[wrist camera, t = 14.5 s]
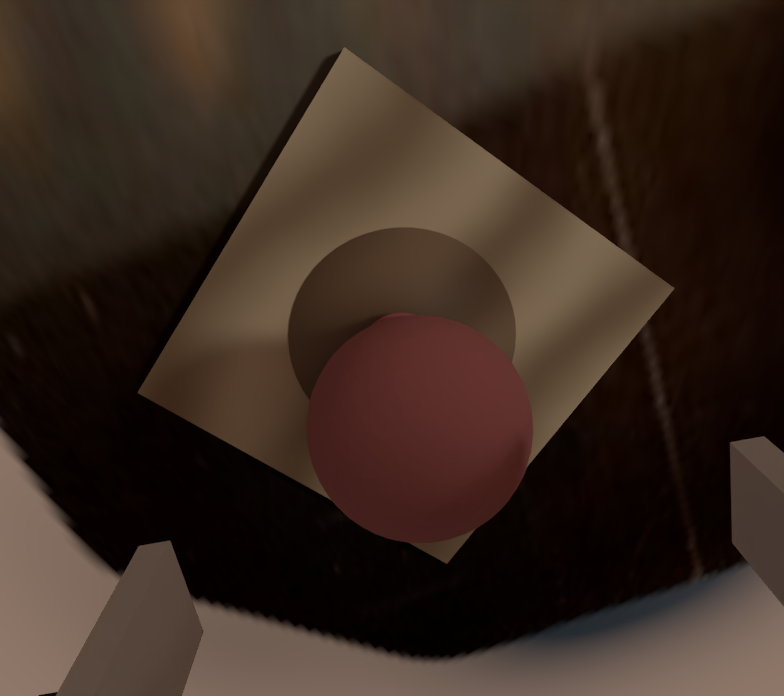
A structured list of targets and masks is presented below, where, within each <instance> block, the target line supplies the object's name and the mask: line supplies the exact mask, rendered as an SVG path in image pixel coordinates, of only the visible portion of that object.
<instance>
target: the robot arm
mask: <svg viewBox="0 0 784 696" xmlns="http://www.w3.org/2000/svg"><path fill="white" fill-rule="evenodd" d="M730 468H731V515H732V543H733V545H734V546H735V547H736V548H737V549H738V551H739V552H740V553H741V554H742V556H743V557H744V558H745V559H746V561H747V562H748V563H749V564H750V565H751V567H752V568H753V569H754V570H755V572H756V573H757V574H758V575H759V576H760V578H761V579H762V580H763V581H764V583H765V584H766V585H767V586H768V588H769V589H770V590H771V591H772V592H773V594H774V595H775V596H776V597H777V599H778V600H779V601H780V602H781V604H782V605H783V606H784V453H783V452H782V451H781V450H780V449H778V448H777V447H776V446H775V445H774V444H773V443H771V442H770V441H769V440H768V439H767V438H765V437H764V436H763V437H757V438H752V439H746V440H740V441H734V442H730ZM202 634H203V629H202V626H201V624H200V621H199V618H198V616H197V613H196V610H195V607H194V605H193V602H192V599H191V596H190V594H189V591H188V588H187V585H186V583H185V580H184V577H183V574H182V572H181V569H180V566H179V563H178V561H177V558H176V555H175V552H174V550H173V547H172V544H171V541H165V542H159V543H153V544H147V545H142V546H139V547H138V549H137V550H136V552H135V554H134V556H133V558H132V559H131V561H130V563H129V565H128V567H127V568H126V570H125V572H124V574H123V576H122V577H121V579H120V581H119V583H118V585H117V586H116V588H115V590H114V592H113V594H112V595H111V597H110V599H109V601H108V603H107V605H106V606H105V608H104V610H103V612H102V613H101V615H100V617H99V619H98V621H97V622H96V624H95V626H94V628H93V630H92V631H91V633H90V635H89V637H88V639H87V640H86V642H85V644H84V646H83V648H82V649H81V651H80V653H79V655H78V657H77V658H76V660H75V662H74V664H73V666H72V667H71V669H70V671H69V673H68V675H67V677H66V678H65V680H64V682H63V684H62V685H61V687H60V689H59V691H58V692H56V693H50V694H44V695H39V696H182V693H183V690H184V687H185V684H186V681H187V678H188V675H189V672H190V670H191V666H192V663H193V661H194V658H195V655H196V652H197V649H198V646H199V643H200V640H201V637H202Z"/></svg>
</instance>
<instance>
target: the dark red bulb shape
mask: <svg viewBox="0 0 784 696" xmlns="http://www.w3.org/2000/svg"><path fill="white" fill-rule="evenodd" d="M532 439H533V417H532V411H531V405H530V401H529V398H528V394H527V391H526V388H525V386H524V383H523V381H522V379H521V377H520V376H519V374H518V372H517V370H516V369H515V367H514V365H513V364H512V362H511V361H510V360H509V359H508V357H507V356H506V355H505V354H504V352H503V351H501V350H500V349H499V348H498V347H497V346H496V345H495V344H494V343H493V342H492V341H491V340H489V339H488V338H487V337H486V336H484V335H483V334H481V333H479V332H478V331H476V330H475V329H473V328H471V327H469V326H467V325H464V324H462V323H460V322H457V321H454V320H450V319H447V318H443V317H438V316H429V315H414V314H411V313H393V314H389V315H387V316H384V317H382V318H380V319H379V320H377V321H376V322H374V323H373V324H372V326H370V327H368V328H366V329H364V330H362V331H360V332H359V333H358V334H356V335H355V336H353V337H352V338H351V339H349V340H348V341H346V342H345V343H344V344H343V345H342V346H341V347H340V348H339V349H338V350H337V351H336V352H335V353H334V355H333V356H332V357H331V358H330V360H329V361H328V363H327V364H326V366H325V367H324V369H323V371H322V372H321V374H320V376H319V378H318V380H317V382H316V384H315V387H314V389H313V391H312V394H311V398H310V402H309V407H308V415H307V443H308V450H309V454H310V458H311V461H312V465H313V468H314V470H315V473H316V475H317V477H318V479H319V482H320V483H321V485H322V487H323V489H324V490H325V492H326V493H327V495H328V496H329V497H330V499H331V500H332V501H333V503H334V504H335V505H336V506H337V507H338V508H339V509H340V510H341V511H342V512H343V513H344V514H345V515H346V516H347V517H348V518H350V519H351V520H353V521H354V522H356V523H357V524H359V525H360V526H361V527H363V528H365V529H367V530H369V531H371V532H373V533H374V534H377V535H380V536H383V537H385V538H388V539H392V540H396V541H402V542H408V543H433V542H439V541H445V540H450V539H453V538H455V537H458V536H461V535H464V534H467V533H468V532H470V531H472V530H474V529H476V528H478V527H479V526H481V525H482V524H484V523H485V522H487V521H488V520H490V519H491V518H492V517H493V516H494V515H495V514H496V513H498V512H499V511H500V510H501V509H502V508H503V506H504V505H505V504H506V503H507V502H508V500H509V499H510V498H511V496H512V495H513V493H514V492H515V490H516V489H517V487H518V485H519V484H520V482H521V480H522V478H523V476H524V474H525V471H526V467H527V464H528V461H529V457H530V454H531V449H532Z"/></svg>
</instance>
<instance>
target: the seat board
mask: <svg viewBox="0 0 784 696" xmlns="http://www.w3.org/2000/svg"><path fill="white" fill-rule="evenodd" d="M673 290H674V288H673V287H672V286H670V285H669V284H668V283H666V282H665V281H664V280H662V279H661V278H659V277H658V276H657V275H655V274H654V273H653V272H651V271H650V270H648V269H647V268H646V267H644V266H643V265H642V264H640V263H639V262H638V261H636V260H635V259H633V258H632V257H631V256H629V255H628V254H627V253H625V252H624V251H622V250H621V249H620V248H618V247H617V246H616V245H614V244H613V243H612V242H610V241H609V240H607V239H606V238H605V237H603V236H602V235H601V234H599V233H598V232H596V231H595V230H594V229H592V228H591V227H590V226H588V225H587V224H586V223H584V222H583V221H581V220H580V219H579V218H577V217H576V216H575V215H573V214H572V213H570V212H569V211H568V210H566V209H565V208H564V207H562V206H561V205H560V204H558V203H557V202H555V201H554V200H553V199H551V198H550V197H549V196H547V195H546V194H544V193H543V192H542V191H540V190H539V189H538V188H536V187H535V186H534V185H532V184H531V183H529V182H528V181H527V180H525V179H524V178H523V177H521V176H520V175H518V174H517V173H516V172H514V171H513V170H512V169H510V168H509V167H508V166H506V165H505V164H503V163H502V162H501V161H499V160H498V159H497V158H495V157H494V156H492V155H491V154H490V153H488V152H487V151H486V150H484V149H483V148H482V147H480V146H479V145H477V144H476V143H475V142H473V141H472V140H471V139H469V138H468V137H466V136H465V135H464V134H462V133H461V132H460V131H458V130H457V129H456V128H454V127H453V126H451V125H450V124H449V123H447V122H446V121H445V120H443V119H442V118H440V117H439V116H438V115H436V114H435V113H434V112H432V111H431V110H430V109H428V108H427V107H425V106H424V105H423V104H421V103H420V102H419V101H417V100H416V99H414V98H413V97H412V96H410V95H409V94H408V93H406V92H405V91H404V90H402V89H401V88H399V87H398V86H397V85H395V84H394V83H393V82H391V81H390V80H388V79H387V78H386V77H384V76H383V75H382V74H380V73H379V72H378V71H376V70H375V69H373V68H372V67H371V66H369V65H368V64H367V63H365V62H364V61H362V60H361V59H360V58H358V57H357V56H356V55H354V54H353V53H352V52H350V51H349V50H347V49H346V48H345V47H344V49H343V50H342V52H341V54H340V55H339V57H338V59H337V60H336V62H335V64H334V65H333V67H332V69H331V70H330V72H329V74H328V75H327V77H326V79H325V80H324V82H323V84H322V85H321V87H320V89H319V90H318V92H317V94H316V95H315V97H314V99H313V100H312V102H311V104H310V105H309V107H308V109H307V110H306V112H305V114H304V115H303V117H302V119H301V120H300V122H299V124H298V125H297V127H296V129H295V130H294V132H293V134H292V135H291V137H290V139H289V141H288V142H287V144H286V146H285V147H284V149H283V151H282V152H281V154H280V156H279V157H278V159H277V161H276V162H275V164H274V166H273V167H272V169H271V171H270V172H269V174H268V176H267V177H266V179H265V181H264V182H263V184H262V186H261V187H260V189H259V191H258V192H257V194H256V196H255V197H254V199H253V201H252V202H251V204H250V206H249V207H248V209H247V211H246V212H245V214H244V216H243V217H242V219H241V221H240V222H239V224H238V226H237V227H236V229H235V231H234V232H233V234H232V236H231V237H230V239H229V241H228V242H227V244H226V246H225V247H224V249H223V251H222V252H221V254H220V256H219V257H218V259H217V261H216V262H215V264H214V266H213V267H212V269H211V271H210V272H209V274H208V276H207V277H206V279H205V281H204V282H203V284H202V286H201V287H200V289H199V291H198V292H197V294H196V296H195V298H194V299H193V301H192V303H191V304H190V306H189V308H188V309H187V311H186V313H185V314H184V316H183V318H182V319H181V321H180V323H179V324H178V326H177V328H176V329H175V331H174V333H173V334H172V336H171V338H170V339H169V341H168V343H167V344H166V346H165V348H164V349H163V351H162V353H161V354H160V356H159V358H158V359H157V361H156V363H155V364H154V366H153V368H152V369H151V371H150V373H149V374H148V376H147V378H146V379H145V381H144V383H143V384H142V386H141V388H140V389H139V391H138V394H140V395H142V396H144V397H146V398H148V399H149V400H151V401H153V402H155V403H157V404H158V405H160V406H162V407H164V408H166V409H167V410H169V411H171V412H173V413H175V414H177V415H178V416H180V417H182V418H184V419H186V420H187V421H189V422H191V423H193V424H195V425H196V426H198V427H200V428H202V429H204V430H205V431H207V432H209V433H211V434H213V435H215V436H216V437H218V438H220V439H222V440H224V441H225V442H227V443H229V444H231V445H233V446H234V447H236V448H238V449H240V450H242V451H244V452H245V453H247V454H249V455H251V456H253V457H254V458H256V459H258V460H260V461H262V462H263V463H265V464H267V465H269V466H271V467H272V468H274V469H276V470H278V471H280V472H282V473H283V474H285V475H287V476H289V477H291V478H292V479H294V480H296V481H298V482H300V483H301V484H303V485H305V486H307V487H309V488H311V489H312V490H314V491H316V492H318V493H320V494H321V495H323V496H325V497H327V498H329V499H330V497H329V496H328V495H327V493H326V492H325V490H324V489H323V487H322V485H321V483H320V482H319V479H318V477H317V475H316V473H315V470H314V468H313V465H312V461H311V458H310V454H309V450H308V443H307V415H308V407H309V402H310V398H311V394H312V391H313V389H314V387H315V384H316V382H317V380H318V378H319V376H320V374H321V372H322V371H323V369H324V367H325V366H326V364H327V363H328V361H329V360H330V358H331V357H332V356H333V355H334V353H335V352H336V351H337V350H338V349H339V348H340V347H341V346H342V345H343V344H344V343H345V342H346V341H348V340H349V339H351V338H352V337H353V336H355V335H356V334H358V333H359V332H360V331H362V330H364V329H366V328H368V327H370V326H372V324H373V323H374V322H376V321H377V320H379V319H380V318H382V317H384V316H387V315H389V314H393V313H411V314H414V315H429V316H438V317H443V318H447V319H450V320H454V321H457V322H460V323H462V324H464V325H467V326H469V327H471V328H473V329H475V330H476V331H478V332H479V333H481V334H483V335H484V336H486V337H487V338H488V339H489V340H491V341H492V342H493V343H494V344H495V345H496V346H497V347H498V348H499V349H500V350H501V351H503V352H504V354H505V355H506V356H507V357H508V359H509V360H510V361H511V362H512V364H513V365H514V367H515V369H516V370H517V372H518V374H519V376H520V377H521V379H522V381H523V383H524V386H525V388H526V391H527V394H528V398H529V401H530V405H531V411H532V417H533V439H532V449H531V454H530V457H529V461H528V464H527V466H528V465H529V464H530V463H531V461H532V460H533V459H534V458H535V457H536V455H537V454H538V453H539V452H540V450H541V449H542V448H543V447H544V446H545V444H546V443H547V442H548V441H549V440H550V438H551V437H552V436H553V435H554V434H555V432H556V431H557V430H558V429H559V428H560V426H561V425H562V424H563V423H564V421H565V420H566V419H567V418H568V417H569V415H570V414H571V413H572V412H573V411H574V409H575V408H576V407H577V406H578V405H579V403H580V402H581V401H582V400H583V398H584V397H585V396H586V395H587V394H588V392H589V391H590V390H591V389H592V388H593V386H594V385H595V384H596V383H597V382H598V380H599V379H600V378H601V377H602V376H603V374H604V373H605V372H606V371H607V369H608V368H609V367H610V366H611V365H612V363H613V362H614V361H615V360H616V359H617V357H618V356H619V355H620V354H621V353H622V351H623V350H624V349H625V348H626V347H627V345H628V344H629V343H630V342H631V340H632V339H633V338H634V337H635V336H636V334H637V333H638V332H639V331H640V330H641V328H642V327H643V326H644V325H645V324H646V322H647V321H648V320H649V319H650V317H651V316H652V315H653V314H654V313H655V311H656V310H657V309H658V308H659V307H660V305H661V304H662V303H663V302H664V301H665V299H666V298H667V297H668V296H669V295H670V293H671V292H672V291H673ZM330 500H331V499H330ZM474 530H475V529H474ZM474 530H472V531H470V532H468V533H467V534H464V535H461V536H458V537H455V538H453V539H450V540H445V541H439V542H433V543H410V544H412V545H414V546H416V547H417V548H419V549H421V550H423V551H425V552H426V553H428V554H430V555H432V556H434V557H435V558H437V559H439V560H441V561H443V562H445V563H446V564H447V563H448V562H449V561H450V559H451V558H452V557H453V556H454V554H455V553H456V552H457V551H458V550H459V548H460V547H461V546H462V545H463V544H464V542H465V541H466V540H467V539H468V538H469V536H470V535H471V534H472V533H473V532H474Z"/></svg>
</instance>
